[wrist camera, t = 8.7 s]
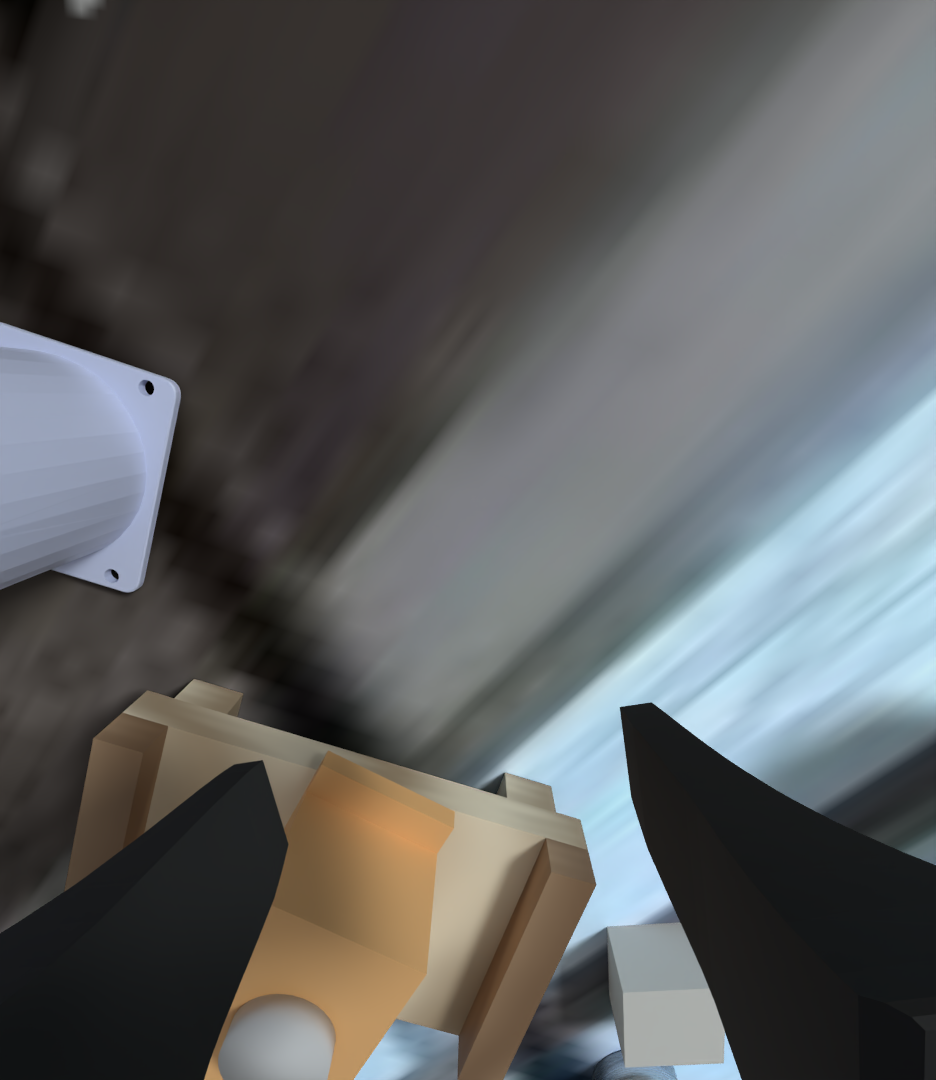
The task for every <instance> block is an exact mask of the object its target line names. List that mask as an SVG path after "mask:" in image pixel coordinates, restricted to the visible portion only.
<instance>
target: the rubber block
mask: <svg viewBox="0 0 936 1080" xmlns="http://www.w3.org/2000/svg"><path fill="white" fill-rule="evenodd" d="M607 943H608V972H609V997H610V1002H611V1006H612V1011H613V1015H614V1020H615V1024H616V1029H617V1034H618V1038H619V1043H620V1047H621V1052H622V1056H623V1061H624V1065H625V1068H627V1067H650V1066H672V1065H695V1064H718V1063H724V1036H725V1030H724V1027H723V1024H722V1022H721V1019H720V1016H719V1013H718V1010H717V1007H716V1004H715V1002H714V999H713V997H712V994H711V992H710V989H709V987H708V984H707V982H706V979H705V977H704V974H703V972H702V970H701V967H700V965H699V963H698V961H697V958H696V956H695V954H694V952H693V949H692V947H691V945H690V943H689V940H688V938H687V936H686V934H685V931H684V929H683V927H682V925H681V923H665V924H647V925H628V926H610V927H607Z"/></svg>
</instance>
